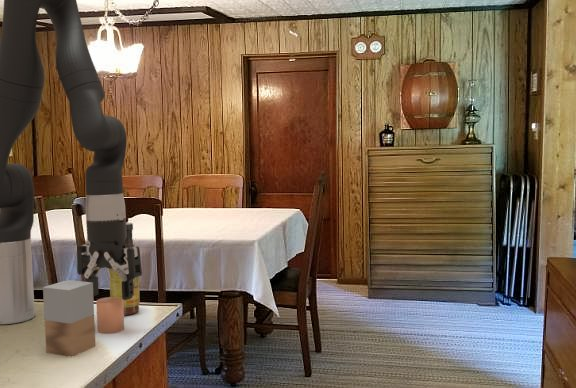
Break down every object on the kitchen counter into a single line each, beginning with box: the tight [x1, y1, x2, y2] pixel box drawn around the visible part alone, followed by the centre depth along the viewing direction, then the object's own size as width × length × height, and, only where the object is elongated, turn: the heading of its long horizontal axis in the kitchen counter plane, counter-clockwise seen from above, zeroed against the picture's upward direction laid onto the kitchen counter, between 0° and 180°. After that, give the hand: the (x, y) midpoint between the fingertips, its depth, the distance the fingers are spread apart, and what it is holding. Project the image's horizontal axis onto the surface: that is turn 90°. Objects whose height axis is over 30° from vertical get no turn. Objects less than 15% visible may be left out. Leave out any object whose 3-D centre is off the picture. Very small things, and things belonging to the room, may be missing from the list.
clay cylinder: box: [95, 296, 125, 335], centre depth 121 cm, size 5×5×6 cm
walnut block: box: [44, 314, 97, 358], centre depth 110 cm, size 6×6×6 cm
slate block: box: [42, 279, 95, 324], centre depth 109 cm, size 6×6×6 cm
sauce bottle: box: [109, 222, 141, 316], centre depth 132 cm, size 7×6×20 cm
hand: (110, 297), depth 120 cm, fingers open, 8 cm apart
